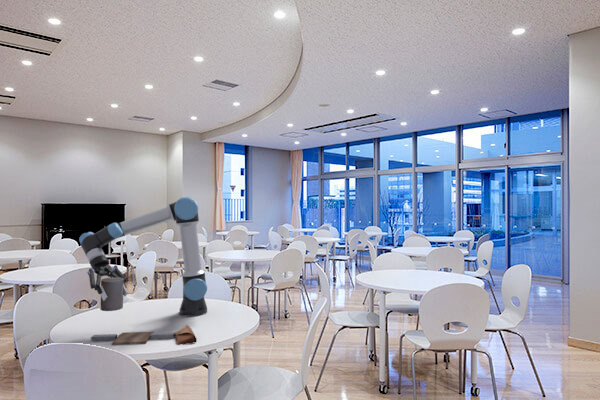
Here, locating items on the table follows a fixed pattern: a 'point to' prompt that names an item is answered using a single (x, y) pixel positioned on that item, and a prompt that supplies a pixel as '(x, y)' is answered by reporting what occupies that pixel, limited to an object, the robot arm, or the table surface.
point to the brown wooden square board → (132, 338)
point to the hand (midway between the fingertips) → (116, 296)
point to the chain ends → (113, 336)
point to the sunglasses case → (185, 335)
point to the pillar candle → (112, 294)
